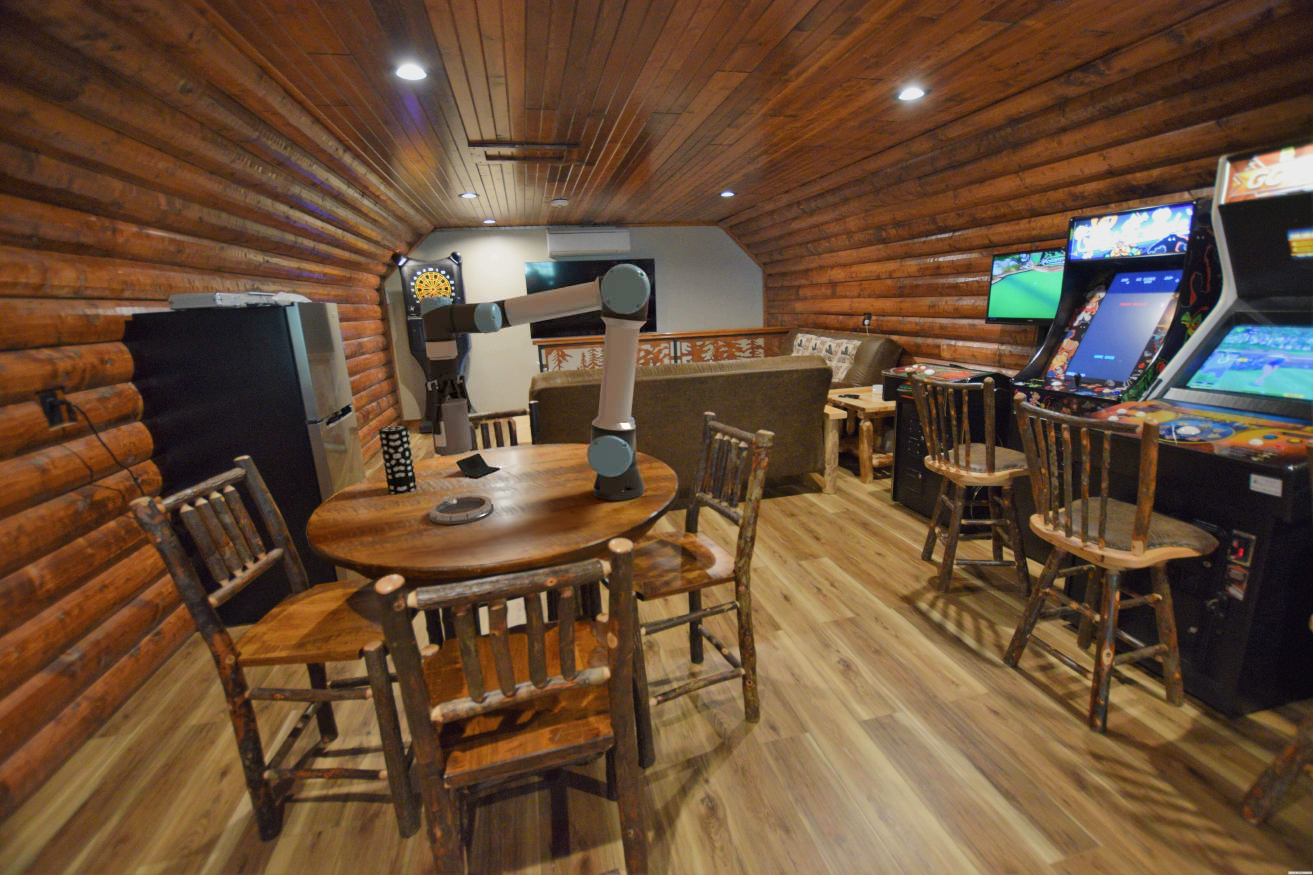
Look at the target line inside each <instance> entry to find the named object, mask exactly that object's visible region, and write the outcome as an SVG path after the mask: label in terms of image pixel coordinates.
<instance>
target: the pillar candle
mask: <svg viewBox="0 0 1313 875" xmlns="http://www.w3.org/2000/svg"><path fill="white" fill-rule="evenodd" d="M437 406H439V404H437ZM441 409H442V418H441V421H443V422H444V429H445V437H446V445H447V446H445V447H442V446H436V443H435V435H434V433H433V426H432V422H430V424H431V433H432V440H433V448H434V453H435V454H436V455H438V456H454V455H455V456H457V455H462V454H464V453H467V452H469V451H471V450H472V449H473V442H472V434H471V426H470V425H471V424H470V416H469V413H468V407H467V399H465V398H451V397H448V396H447V397H446V398H445V402H444V404H441ZM430 417H431V416H430Z"/></svg>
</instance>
